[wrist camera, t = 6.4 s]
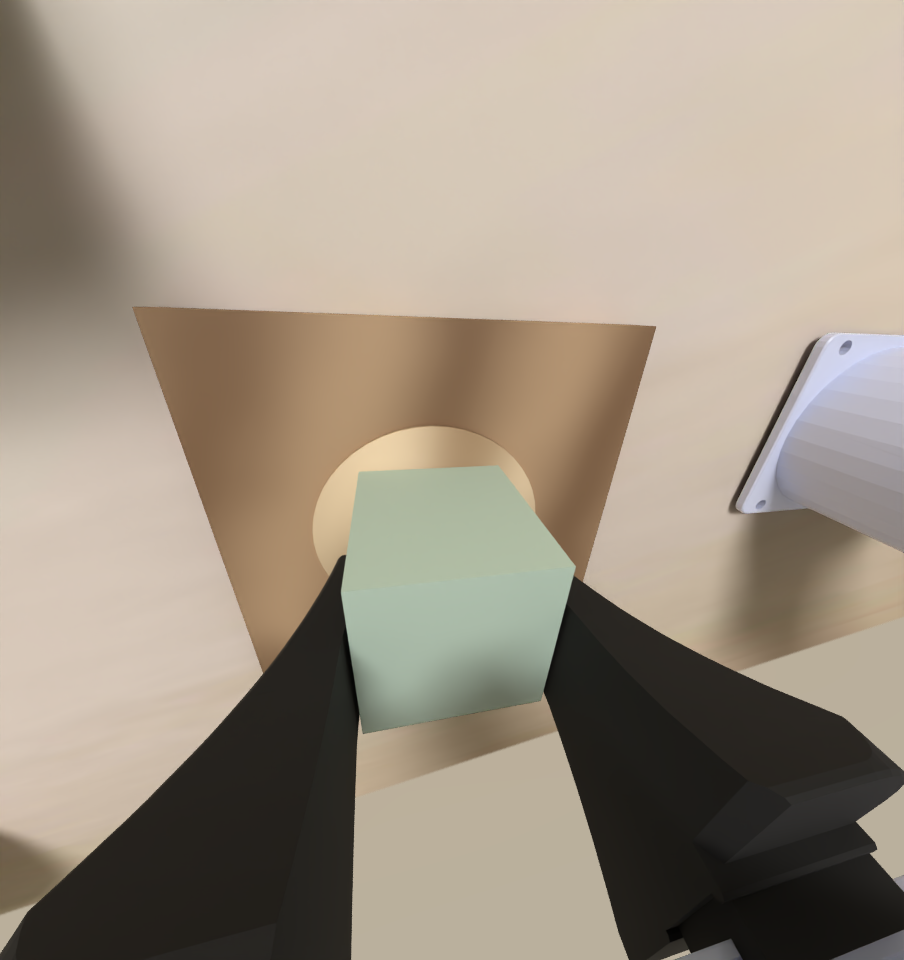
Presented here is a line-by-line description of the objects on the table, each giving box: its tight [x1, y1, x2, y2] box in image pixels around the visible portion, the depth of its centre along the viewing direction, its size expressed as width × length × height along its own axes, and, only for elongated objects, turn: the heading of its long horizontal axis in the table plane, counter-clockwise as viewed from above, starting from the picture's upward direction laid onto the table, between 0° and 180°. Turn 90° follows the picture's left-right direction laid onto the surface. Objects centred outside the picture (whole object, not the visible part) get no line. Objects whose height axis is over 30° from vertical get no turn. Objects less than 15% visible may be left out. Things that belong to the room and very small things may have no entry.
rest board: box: [132, 307, 656, 673], centre depth 13 cm, size 14×14×1 cm
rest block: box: [341, 465, 576, 734], centre depth 9 cm, size 4×4×5 cm
